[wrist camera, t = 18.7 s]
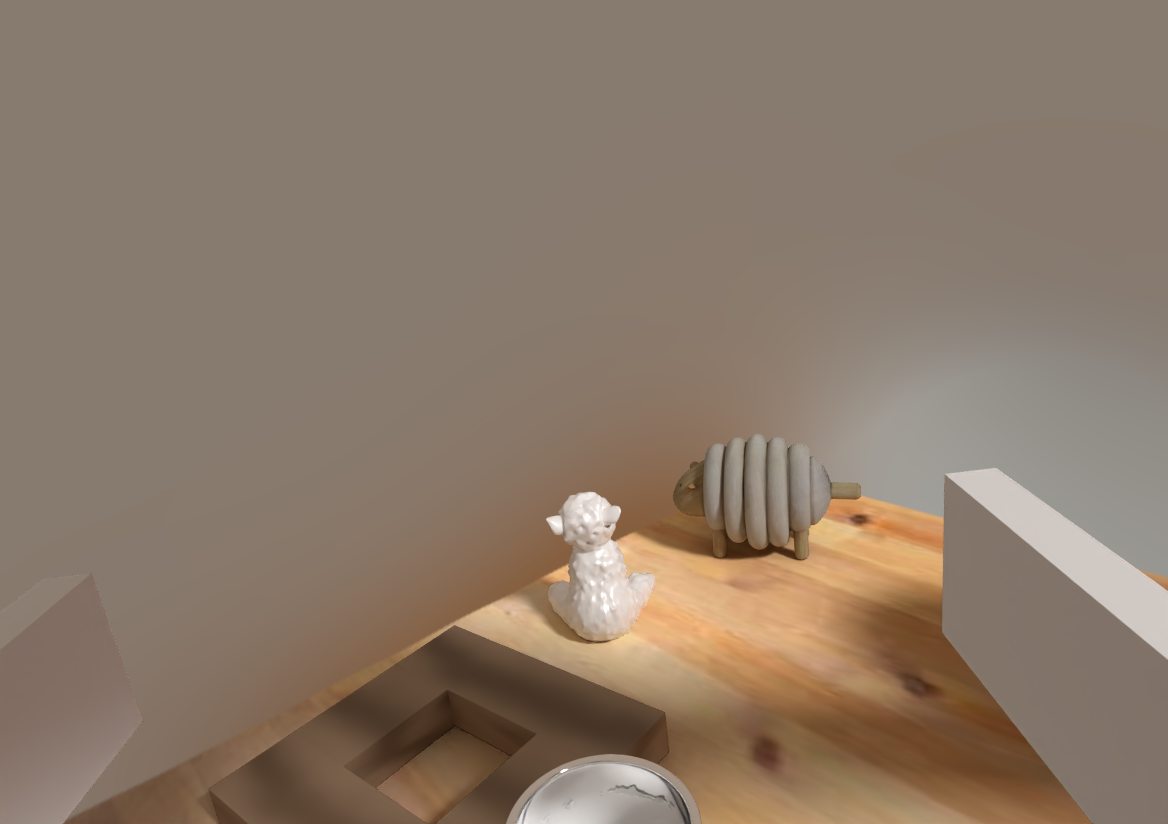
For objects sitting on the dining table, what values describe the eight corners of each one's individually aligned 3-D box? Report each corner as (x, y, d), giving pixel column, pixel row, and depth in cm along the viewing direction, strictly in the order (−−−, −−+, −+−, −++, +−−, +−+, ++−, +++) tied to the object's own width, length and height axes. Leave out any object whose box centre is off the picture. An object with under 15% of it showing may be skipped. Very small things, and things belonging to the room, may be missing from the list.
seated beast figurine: (655, 587, 70) (642, 462, 66) (668, 643, 61) (654, 504, 58) (549, 600, 70) (531, 476, 66) (548, 658, 61) (527, 519, 58)
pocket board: (460, 657, 63) (454, 625, 62) (669, 751, 50) (664, 712, 49) (221, 827, 49) (208, 788, 48) (427, 1019, 36) (416, 970, 35)
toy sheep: (682, 524, 81) (672, 422, 78) (853, 520, 77) (851, 414, 74) (672, 576, 71) (662, 462, 68) (868, 575, 67) (867, 455, 64)
